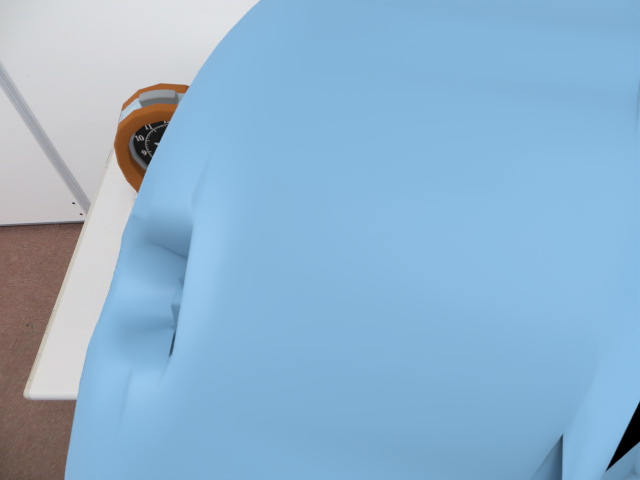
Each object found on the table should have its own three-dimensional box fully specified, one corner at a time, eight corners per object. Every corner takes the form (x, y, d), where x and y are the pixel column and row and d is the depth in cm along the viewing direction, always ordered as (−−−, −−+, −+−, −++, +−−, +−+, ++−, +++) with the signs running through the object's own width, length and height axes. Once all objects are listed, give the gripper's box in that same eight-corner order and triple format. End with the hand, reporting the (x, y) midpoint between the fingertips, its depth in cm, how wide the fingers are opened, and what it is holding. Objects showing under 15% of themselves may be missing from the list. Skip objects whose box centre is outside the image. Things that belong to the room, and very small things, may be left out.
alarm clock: (141, 212, 79) (78, 125, 59) (146, 175, 84) (90, 83, 64) (251, 199, 80) (225, 109, 60) (249, 163, 85) (225, 70, 65)
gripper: (376, -40, 41) (362, 132, 61) (499, -47, 41) (444, 127, 61) (368, -70, 45) (357, 101, 65) (479, -75, 46) (434, 96, 65)
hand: (399, 113), depth 63 cm, fingers closed
